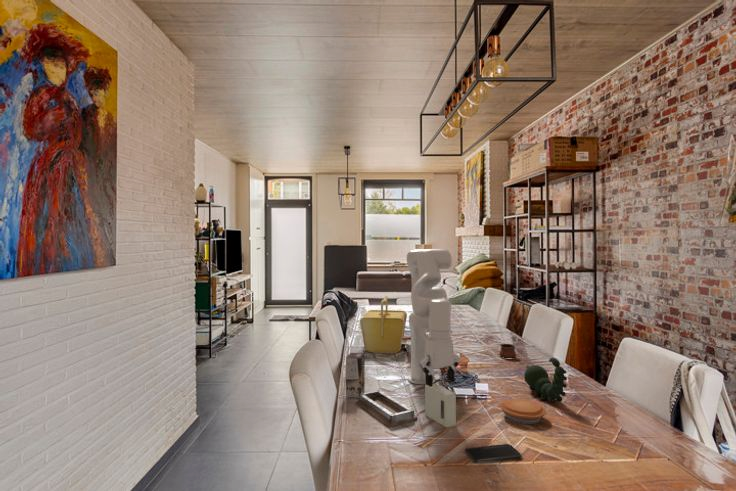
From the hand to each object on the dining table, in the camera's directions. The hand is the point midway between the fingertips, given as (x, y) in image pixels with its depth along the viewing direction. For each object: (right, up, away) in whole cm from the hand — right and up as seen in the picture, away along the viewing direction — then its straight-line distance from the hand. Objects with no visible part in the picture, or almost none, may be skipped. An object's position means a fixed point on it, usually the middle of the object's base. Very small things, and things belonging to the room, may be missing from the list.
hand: (440, 383), depth 148 cm
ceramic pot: (+51, -13, +82) cm, 97 cm away
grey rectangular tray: (-19, -13, +8) cm, 25 cm away
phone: (+11, -14, -24) cm, 30 cm away
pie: (+30, -13, +2) cm, 33 cm away
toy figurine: (+46, -13, +23) cm, 53 cm away
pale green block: (0, -13, +1) cm, 13 cm away
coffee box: (-31, -13, +27) cm, 43 cm away
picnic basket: (-16, -13, +104) cm, 106 cm away
